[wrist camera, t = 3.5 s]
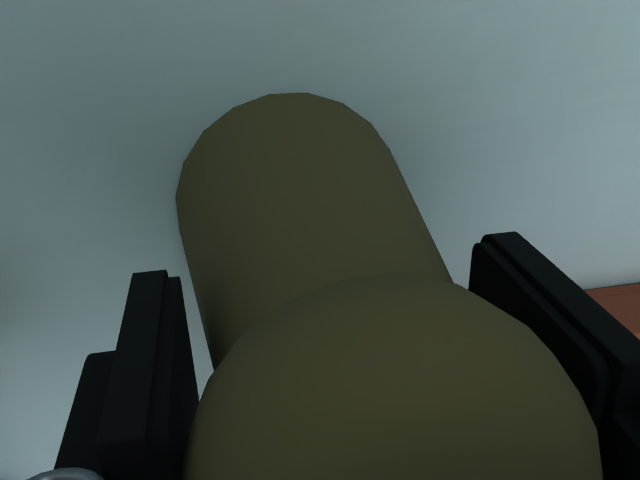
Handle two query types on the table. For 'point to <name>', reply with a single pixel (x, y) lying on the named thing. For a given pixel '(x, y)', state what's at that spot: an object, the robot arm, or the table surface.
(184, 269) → the table surface
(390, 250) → the pepper shaker
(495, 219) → the table surface
